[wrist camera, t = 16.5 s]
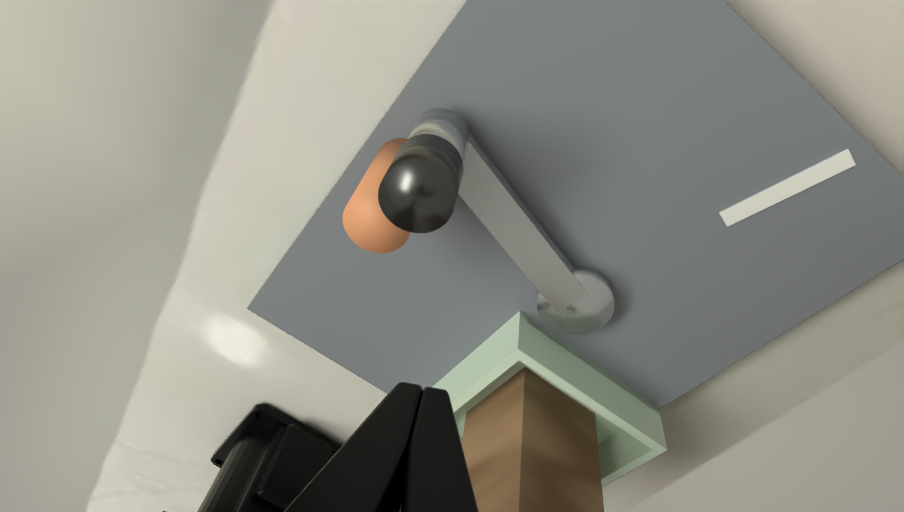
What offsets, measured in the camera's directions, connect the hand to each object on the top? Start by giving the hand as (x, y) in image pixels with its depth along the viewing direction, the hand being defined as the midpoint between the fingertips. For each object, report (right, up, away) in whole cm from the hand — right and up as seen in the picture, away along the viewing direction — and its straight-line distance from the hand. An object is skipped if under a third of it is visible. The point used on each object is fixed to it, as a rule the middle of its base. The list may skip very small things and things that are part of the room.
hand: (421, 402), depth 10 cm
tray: (+4, -4, +16) cm, 17 cm away
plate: (+4, +2, +13) cm, 14 cm away
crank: (+3, +4, +11) cm, 11 cm away
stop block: (+4, -5, +16) cm, 17 cm away
